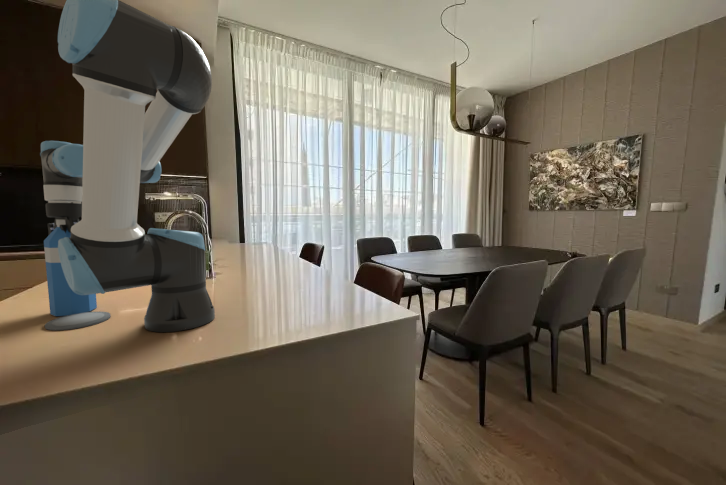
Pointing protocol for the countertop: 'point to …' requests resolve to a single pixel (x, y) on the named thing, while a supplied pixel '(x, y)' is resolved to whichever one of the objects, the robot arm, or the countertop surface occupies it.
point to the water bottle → (62, 280)
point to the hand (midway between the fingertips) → (72, 285)
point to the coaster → (77, 321)
